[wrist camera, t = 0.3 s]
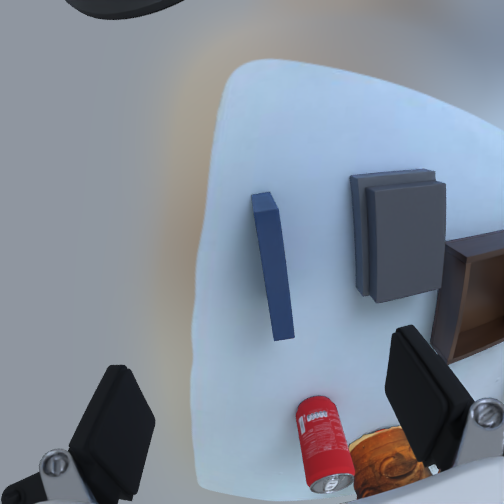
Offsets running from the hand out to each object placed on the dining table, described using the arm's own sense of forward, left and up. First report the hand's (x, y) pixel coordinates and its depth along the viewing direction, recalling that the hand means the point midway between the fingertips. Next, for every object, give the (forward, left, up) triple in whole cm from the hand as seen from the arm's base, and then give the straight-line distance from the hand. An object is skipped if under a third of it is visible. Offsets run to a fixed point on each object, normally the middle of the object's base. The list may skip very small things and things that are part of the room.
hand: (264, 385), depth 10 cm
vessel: (+39, +15, -19) cm, 46 cm away
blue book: (+2, +1, -18) cm, 18 cm away
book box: (+11, +28, -18) cm, 35 cm away
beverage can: (+24, +4, -19) cm, 30 cm away
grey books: (+2, +13, -18) cm, 23 cm away
